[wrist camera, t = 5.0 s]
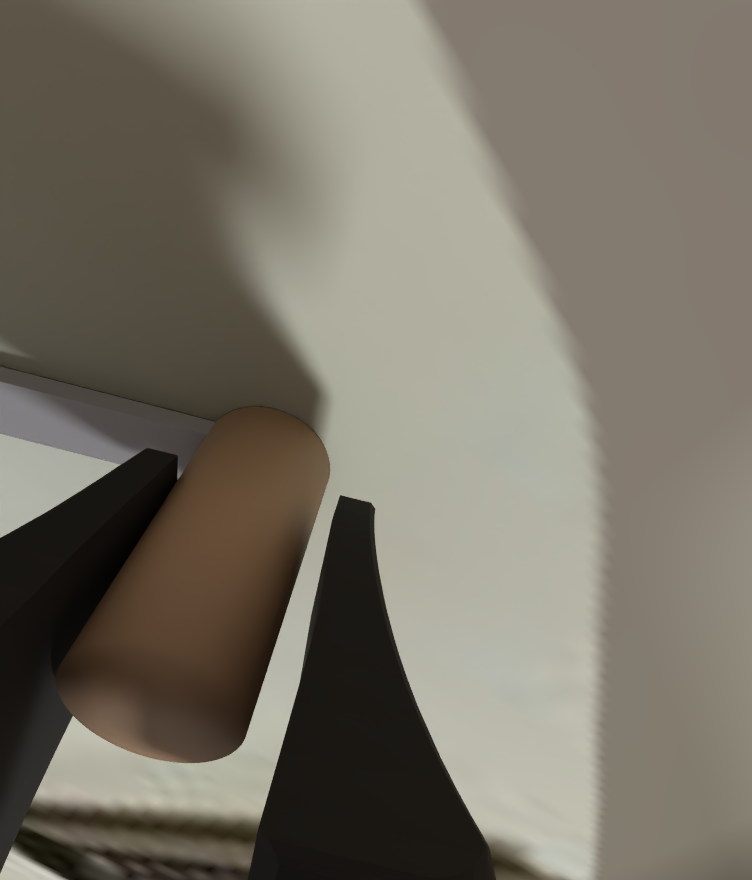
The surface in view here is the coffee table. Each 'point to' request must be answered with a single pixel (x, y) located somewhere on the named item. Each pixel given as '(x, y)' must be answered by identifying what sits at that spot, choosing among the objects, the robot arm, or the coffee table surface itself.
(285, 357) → the coffee table surface
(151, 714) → the block with pull
